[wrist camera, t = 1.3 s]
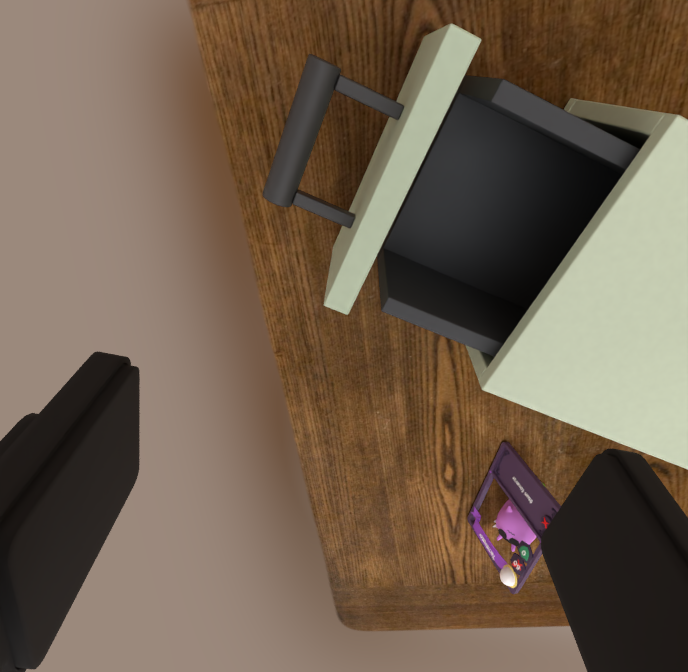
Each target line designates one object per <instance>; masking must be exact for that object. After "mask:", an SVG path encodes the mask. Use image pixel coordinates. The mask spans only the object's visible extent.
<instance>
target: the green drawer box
mask: <svg viewBox="0 0 688 672" xmlns="http://www.w3.org/2000/svg"><path fill="white" fill-rule="evenodd" d="M564 110H565V111H567V112H569V113H571V114H573V115H575V116H577V117H578V118H580V119H582V120H584V121H586V122H588V123H590V124H592V125H594V126H596V127H598V128H600V129H602V130H604V131H606V132H607V133H609V134H611V135H613V136H615V137H617V138H619V139H621V140H623V141H625V142H627V143H629V144H631V145H633V146H635V147H636V148H638V149H640V151H639V152H638V154H637V155H636V157H635V158H634V160H633V161H632V162H631V164H630V165H629V167H628V168H627V170H626V171H625V172H624V174H623V175H622V177H621V178H620V179H619V181H618V182H617V184H616V185H615V187H614V188H613V189H612V191H611V192H610V194H609V195H608V197H607V198H606V199H605V201H604V202H603V204H602V205H601V207H600V208H599V209H598V211H597V212H596V214H595V215H594V216H593V218H592V219H591V221H590V222H589V224H588V225H587V226H586V228H585V229H584V231H583V232H582V234H581V235H580V236H579V238H578V239H577V241H576V242H575V244H574V245H573V246H572V248H571V249H570V251H569V252H568V253H567V255H566V256H565V258H564V259H563V261H562V262H561V263H560V265H559V266H558V268H557V269H556V271H555V272H554V273H553V275H552V276H551V278H550V279H549V281H548V282H547V283H546V285H545V286H544V288H543V289H542V290H541V292H540V293H539V295H538V296H537V298H536V299H535V300H534V302H533V303H532V305H531V306H530V308H529V309H528V310H527V312H526V313H525V315H524V316H523V318H522V319H521V320H520V322H519V323H518V325H517V326H516V328H515V329H514V330H513V332H512V333H511V335H510V336H509V337H508V339H507V340H506V342H505V343H504V345H503V346H502V347H501V349H500V350H499V352H498V353H497V355H496V356H495V357H494V356H492V355H489V354H487V353H484V352H482V351H479V350H477V349H474V348H472V347H469V346H467V345H466V347H467V350H468V353H469V356H470V358H471V361H472V364H473V366H474V369H475V372H476V375H477V377H478V379H479V383H480V386H481V389H482V390H484V391H486V392H489V393H492V394H494V395H497V396H499V397H502V398H505V399H507V400H510V401H512V402H515V403H518V404H520V405H523V406H525V407H528V408H530V409H533V410H536V411H538V412H541V413H543V414H546V415H549V416H551V417H554V418H556V419H559V420H561V421H564V422H567V423H569V424H572V425H574V426H577V427H580V428H582V429H585V430H587V431H590V432H592V433H595V434H598V435H600V436H603V437H605V438H608V439H611V440H613V441H616V442H618V443H621V444H623V445H626V446H629V447H631V448H634V449H636V450H639V451H642V452H644V453H647V454H649V455H652V456H654V457H657V458H660V459H662V460H665V461H667V462H670V463H673V464H675V465H678V466H680V467H683V468H685V469H688V119H686V118H684V117H682V116H680V115H676V114H670V113H663V112H656V111H650V110H643V109H637V108H630V107H624V106H617V105H611V104H604V103H598V102H591V101H585V100H578V99H573V98H570V100H569V101H568V103H567V105H566V106H565V108H564Z"/></svg>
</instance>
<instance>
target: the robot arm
mask: <svg viewBox="0 0 688 672" xmlns="http://www.w3.org/2000/svg"><path fill="white" fill-rule="evenodd" d="M138 472H139V369H138V367H135V366H131V362H130V359H129V358H128V357H124V356H119V355H113V354H108V353H102V352H95V353H93V354H92V355H91V356H90V357H89V359H88V360H87V361H86V362H85V363H84V364H83V365H82V366H81V367H80V368H79V370H78V371H77V372H76V373H75V374H74V375H73V376H72V377H71V379H70V380H69V381H68V382H67V383H66V384H65V385H64V386H63V387H62V389H61V390H60V391H59V392H58V393H57V394H56V395H55V396H54V398H53V399H52V400H51V401H50V402H49V403H48V404H47V405H46V406H45V408H44V409H43V410H42V411H41V412H40V413H39V414H35V413H31V414H29V415H26V416H25V417H24V418H23V419H21V420H20V421H19V422H18V423H17V424H16V425H15V426H14V427H13V428H12V430H11V431H10V432H9V433H8V434H7V435H6V436H5V437H4V438H3V439H2V440H1V441H0V672H25V671H26V669H36V668H37V667H38V666H39V665H40V664H41V662H42V661H43V659H44V657H45V655H46V654H47V652H48V649H49V648H50V646H51V644H52V642H53V640H54V638H55V636H56V634H57V633H58V631H59V629H60V627H61V625H62V623H63V621H64V619H65V617H66V615H67V613H68V611H69V609H70V608H71V606H72V604H73V602H74V600H75V598H76V596H77V594H78V592H79V590H80V588H81V586H82V584H83V582H84V581H85V579H86V577H87V575H88V572H89V571H90V569H91V567H92V565H93V563H94V561H95V559H96V557H97V556H98V554H99V552H100V550H101V548H102V546H103V544H104V542H105V540H106V538H107V536H108V534H109V532H110V531H111V529H112V527H113V525H114V523H115V521H116V519H117V517H118V515H119V513H120V511H121V509H122V507H123V506H124V504H125V501H126V500H127V498H128V496H129V494H130V492H131V490H132V488H133V486H134V484H135V481H136V479H137V476H138ZM541 550H542V554H543V556H544V559H545V562H546V564H547V567H548V569H549V572H550V575H551V577H552V580H553V583H554V585H555V588H556V590H557V593H558V596H559V598H560V601H561V604H562V606H563V609H564V611H565V614H566V617H567V619H568V622H569V624H570V627H571V630H572V632H573V635H574V637H575V640H576V643H577V645H578V648H579V651H580V653H581V656H582V659H583V661H584V664H585V666H586V669H587V672H688V518H687V516H686V515H685V514H684V512H683V511H682V509H681V508H680V507H679V505H678V504H677V503H676V501H675V500H674V498H673V497H672V496H671V494H670V493H669V492H668V490H667V489H666V487H665V486H664V485H663V483H662V482H661V481H660V479H659V478H658V476H657V475H656V474H655V472H654V471H653V470H652V468H651V467H650V466H649V464H648V463H647V461H646V460H645V459H644V458H643V457H642V456H641V455H639V454H637V453H633V452H628V451H623V450H617V449H607V450H605V451H604V452H603V453H602V454H598V455H596V456H595V457H594V459H593V460H592V462H591V463H590V465H589V466H588V468H587V469H586V470H585V472H584V473H583V475H582V476H581V478H580V479H579V481H578V482H577V484H576V485H575V487H574V488H573V490H572V491H571V493H570V494H569V496H568V497H567V499H566V500H565V502H564V503H563V505H562V506H561V508H560V509H559V511H558V512H557V514H556V515H555V517H554V518H553V520H552V521H551V523H550V524H549V525H548V527H547V528H546V530H545V531H544V533H543V535H542V538H541Z"/></svg>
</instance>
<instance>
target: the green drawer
mask: <svg viewBox="0 0 688 672" xmlns="http://www.w3.org/2000/svg"><path fill="white" fill-rule="evenodd" d="M480 42H481V39H480V38H479V37H477V36H475V35H473V34H471V33H469V32H467V31H466V30H464V29H462V28H460V27H458V26H456V25H454V24H452V23H451V24H449V25H447V26H445V27H443V28H440V29H438V30H436V31H434V32H432V33H430V34H428V35H426V36H424V38H423V40H422V43H421V45H420V47H419V50H418V52H417V54H416V56H415V59H414V61H413V63H412V66H411V68H410V70H409V73H408V75H407V77H406V80H405V82H404V84H403V87H402V89H401V91H400V93H399V96H398V98H397V100H396V101H394V100H392V99H390V98H388V97H386V96H384V95H382V94H380V93H378V92H376V91H374V90H372V89H370V88H368V87H366V86H364V85H361V84H359V83H357V82H355V81H353V80H351V79H349V78H347V77H345V76H343V75H340V72H341V69H340V68H339V67H337V66H335V65H333V64H331V63H329V62H327V61H325V60H323V59H321V58H319V57H317V56H315V55H313V54H309V55H308V58H307V61H306V64H305V67H304V70H303V73H302V76H301V79H300V82H299V85H298V88H297V91H296V94H295V97H294V100H293V103H292V106H291V109H290V112H289V115H288V118H287V121H286V124H285V127H284V130H283V133H282V136H281V139H280V142H279V145H278V148H277V151H276V154H275V157H274V160H273V163H272V167H271V170H270V173H269V176H268V179H267V182H266V185H265V188H264V191H263V197H264V198H265V199H267V200H268V201H270V202H272V203H274V204H276V205H279V206H282V207H290V206H291V205H292V203H293V205H296V206H298V207H300V208H303V209H305V210H307V211H310V212H312V213H314V214H317V215H319V216H321V217H324V218H326V219H328V220H331V221H333V222H335V223H338V224H340V225H342V228H341V230H340V232H339V235H338V237H337V239H336V242H335V244H334V246H333V251H332V257H331V263H330V269H329V275H328V281H327V287H326V293H325V299H324V306H326V307H329V308H331V309H334V310H336V311H339V312H341V313H344V314H346V315H348V314H349V312H350V310H351V308H352V306H353V304H354V302H355V299H356V297H357V295H358V293H359V291H360V289H361V287H362V285H363V283H364V281H365V279H366V277H367V275H368V273H369V271H370V269H371V267H372V265H373V262H374V260H375V258H376V256H377V258H378V272H379V286H380V300H381V311H382V312H385V313H387V314H390V315H392V316H395V317H397V318H400V319H402V320H405V321H407V322H410V323H412V324H415V325H417V326H420V327H422V328H425V329H427V330H429V331H432V332H434V333H437V334H439V335H442V336H444V337H447V338H449V339H452V340H454V341H457V342H459V343H462V344H464V345H467V346H469V347H472V348H474V349H477V350H479V351H482V352H484V353H487V354H489V355H492V356H494V357H495V356H496V355H497V353H498V352H499V350H500V349H501V347H502V346H503V345H504V343H505V342H506V340H507V339H508V337H509V336H510V335H511V333H512V332H513V330H514V329H515V328H516V326H517V325H518V323H519V322H520V320H521V319H522V318H523V316H524V315H525V313H526V312H527V310H528V309H529V308H530V306H531V305H532V303H533V302H534V300H535V299H536V298H537V296H538V295H539V293H540V292H541V290H542V289H543V288H544V286H545V285H546V283H547V282H548V281H549V279H550V278H551V276H552V275H553V273H554V272H555V271H556V269H557V268H558V266H559V265H560V263H561V262H562V261H563V259H564V258H565V256H566V255H567V253H568V252H569V251H570V249H571V248H572V246H573V245H574V244H575V242H576V241H577V239H578V238H579V236H580V235H581V234H582V232H583V231H584V229H585V228H586V226H587V225H588V224H589V222H590V221H591V219H592V218H593V216H594V215H595V214H596V212H597V211H598V209H599V208H600V207H601V205H602V204H603V202H604V201H605V199H606V198H607V197H608V195H609V194H610V192H611V191H612V189H613V188H614V187H615V185H616V184H617V182H618V181H619V179H620V178H621V177H622V175H623V174H624V172H625V171H626V170H627V168H628V167H629V165H630V164H631V162H632V161H633V160H634V158H635V157H636V155H637V154H638V152H639V151H640V149H638V148H636V147H635V146H633V145H631V144H629V143H627V142H625V141H623V140H621V139H619V138H617V137H615V136H613V135H611V134H609V133H607V132H606V131H604V130H602V129H600V128H598V127H596V126H594V125H592V124H590V123H588V122H586V121H584V120H582V119H580V118H578V117H577V116H575V115H573V114H571V113H569V112H567V111H565V110H563V109H561V108H559V107H557V106H555V105H553V104H551V103H549V102H548V101H546V100H544V99H542V98H540V97H538V96H536V95H534V94H532V93H530V92H528V91H526V90H524V89H522V88H520V87H519V86H517V85H515V84H513V83H511V82H509V81H507V80H505V79H499V78H488V77H477V76H464V75H465V73H466V71H467V69H468V67H469V65H470V63H471V61H472V59H473V57H474V55H475V53H476V51H477V49H478V47H479V44H480ZM339 75H340V76H339ZM334 89H335V91H337V92H339V93H342V94H344V95H346V96H348V97H350V98H352V99H354V100H356V101H358V102H360V103H362V104H364V105H367V106H369V107H371V108H373V109H375V110H377V111H379V112H381V113H383V114H385V115H387V116H389V119H388V121H387V124H386V126H385V128H384V131H383V133H382V135H381V137H380V140H379V142H378V144H377V147H376V149H375V151H374V154H373V156H372V158H371V161H370V163H369V165H368V168H367V170H366V172H365V174H364V177H363V179H362V181H361V184H360V186H359V188H358V191H357V193H356V195H355V198H354V200H353V202H352V205H351V207H350V209H349V211H347V210H344V209H342V208H340V207H337V206H335V205H333V204H331V203H328V202H326V201H324V200H321V199H319V198H317V197H315V196H312V195H310V194H308V193H305V192H303V191H301V190H297V189H298V187H299V184H300V181H301V178H302V176H303V173H304V170H305V168H306V165H307V162H308V159H309V157H310V154H311V151H312V149H313V146H314V143H315V140H316V138H317V135H318V132H319V130H320V127H321V124H322V121H323V119H324V116H325V113H326V110H327V108H328V105H329V102H330V100H331V97H332V94H333V91H334Z"/></svg>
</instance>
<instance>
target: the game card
mask: <svg viewBox="0 0 688 672" xmlns="http://www.w3.org/2000/svg"><path fill="white" fill-rule="evenodd" d="M494 478H495V480H496V481H497V482H498V484H499V485H500V487H501V488H502V489H503V491H504V492H505V494H506V495H507V496H508V498H509V499H508V500H507V502H506V503H505V504H504V505H503V507H502V508H501V510H500V511H499V513H498V516H497V519H496V520H495V521H494V522H496V524H495V525H494V526H493V527H497V528H498V529H499V530H498V531H499V536H498V537H497V540H500V539H502V538H504V539H505V540H507V541H508V542H509V543H511V544H512V546H511V550H512V551H514V550H515V547H516V546H518V547H517V548H518V551H519V555H520V556H519V555H518V554H516V553H514V554H513V556H512V558H511V559H510V560H511V563H512V566H513V568H512V567H511V566H510V565H508V564H507V563H506V561H505V560H504V559H503V558H502V557H501V555H500V554H499V553H498V552H497V550H496V549H495V548H494V546H493V545H492V543H491V542H490V540H489V539H488V537H487V536H486V534H485V533H484V531H483V529H482V528H481V526H480V524H479V521H480V519H481V516H480V514H479V512H478V510H479V508H480V506H481V504H482V502H483V500H484V498H485V496H486V494H487V491H488V489H489V487H490V485H491V483H492V481H493V479H494ZM560 508H561V506H560V505H559V503H558V502H557V501H556V500H555V498H554V497H553V496H552V495H551V494H550V492H549V491H548V490H547V489H546V487H545V484H544V483H541V481H540V480H539V479H538V478H537V476H536V475H535V474H534V473H533V471H532V470H531V469H530V468H529V467H528V465H527V464H526V463H525V462H524V460H523V459H522V458H521V457H520V456H519V454H518V453H517V452H516V451H515V449H514V448H513V447H512V446H511V445H510V443H509V442H502V444H501V446H500V448H499V451H498V453H497V455H496V457H495V459H494V461H493V464H492V466H491V468H490V470H489V472H488V474H487V477H486V479H485V481H484V483H483V485H482V487H481V490H480V492H479V494H478V496H477V498H476V500H475V503H474V505H473V507H472V509H471V511H470V513H469V516H468V522H469V524H470V525H471V527H472V529H473V530H474V532H475V534H476V535H477V537H478V539H479V540H480V542H481V544H482V545H483V547H484V548H485V550H486V552H487V553H488V555H489V557H490V558H491V560H492V562H493V563H494V565H495V567H496V568H497V570H498V572H499V573H500V579H501V581H502V582H503V583H504V584H505V585H507V587H508V588H509V590H510V592H511V593H512V594H516V593H518V592H519V591H520V589H521V587H522V586H523V584H524V582H525V581H526V579H527V578H528V576H529V574H530V573H531V571H532V569H533V568H534V566H535V565H536V563H537V561H538V560H539V558H540V557H541V555H542V550H541V538H542V535H543V533H544V531H545V530H546V528H547V527H548V525H549V524H550V523H551V521H552V520H553V518H554V517H555V515H556V514H557V512H558V511H559V509H560ZM475 518H476V520H475ZM536 537H537V538H538V539H539V541H540V544H539V546H538V547H537V549H536V551H535V552H534V554H533V553H532V550H531V547H530V543H531V542H532V541H533V540H534V539H535V538H536ZM524 562H526V563H527V566H526V567H525V564H524ZM515 572H516V573H517V574H519V575H520V577H519V579H518V581H517V575H516V573H515Z"/></svg>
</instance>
